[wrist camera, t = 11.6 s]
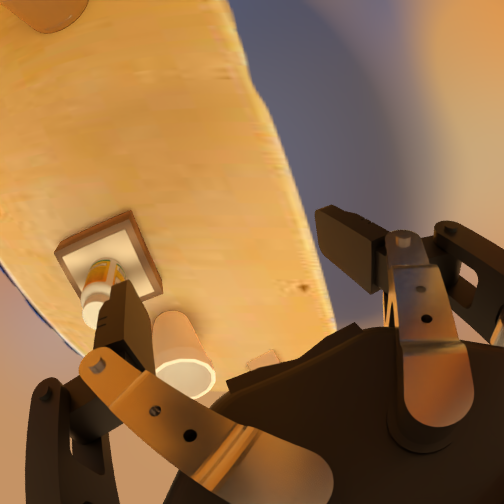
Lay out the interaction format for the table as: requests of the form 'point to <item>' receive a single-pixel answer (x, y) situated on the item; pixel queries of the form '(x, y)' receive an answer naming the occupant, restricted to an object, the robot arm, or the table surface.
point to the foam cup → (181, 355)
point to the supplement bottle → (99, 288)
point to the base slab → (111, 255)
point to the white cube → (263, 360)
